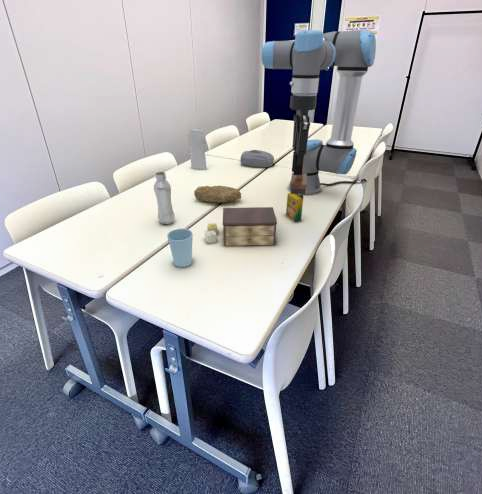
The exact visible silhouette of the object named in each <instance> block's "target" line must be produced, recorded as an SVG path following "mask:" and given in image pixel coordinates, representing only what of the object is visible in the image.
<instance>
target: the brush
mask: <svg viewBox="0 0 482 494" xmlns="http://www.w3.org/2000/svg"><path fill="white" fill-rule="evenodd" d="M303 164H304V160H303ZM290 181H291V185H290V189H291V190H290V189H289V190H290V193H291V194H298V195H300V194H303V195H306V194H305V189H306V183H307V173H303V170H302V175H293V172H292V173H291V179H290Z"/></svg>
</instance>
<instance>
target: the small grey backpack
mask: <svg viewBox="0 0 482 494" xmlns="http://www.w3.org/2000/svg"><path fill="white" fill-rule="evenodd" d="M239 161H240V165H241V166H245V167H249V168H271V167H272V166H273V165H274V163H275V157H274V155H273V154H272V153H270V152H268V151H265V150H260V149H252V150H244V151H243V152H242V153H241V155H240V160H239Z"/></svg>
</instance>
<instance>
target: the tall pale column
mask: <svg viewBox="0 0 482 494" xmlns="http://www.w3.org/2000/svg"><path fill="white" fill-rule="evenodd" d="M187 138H188V143H189V149H190V157H189V158H190V164H191V165H190V166H191V167H190V169H195V170H201V171H202V170H203V171H206V170H207V157H206V151H205V149H206V148H205V146H206V145H205V144H206V136H205V134H204V132H203V130H202V129H198V128H194V129H189V134H188V135H187Z"/></svg>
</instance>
